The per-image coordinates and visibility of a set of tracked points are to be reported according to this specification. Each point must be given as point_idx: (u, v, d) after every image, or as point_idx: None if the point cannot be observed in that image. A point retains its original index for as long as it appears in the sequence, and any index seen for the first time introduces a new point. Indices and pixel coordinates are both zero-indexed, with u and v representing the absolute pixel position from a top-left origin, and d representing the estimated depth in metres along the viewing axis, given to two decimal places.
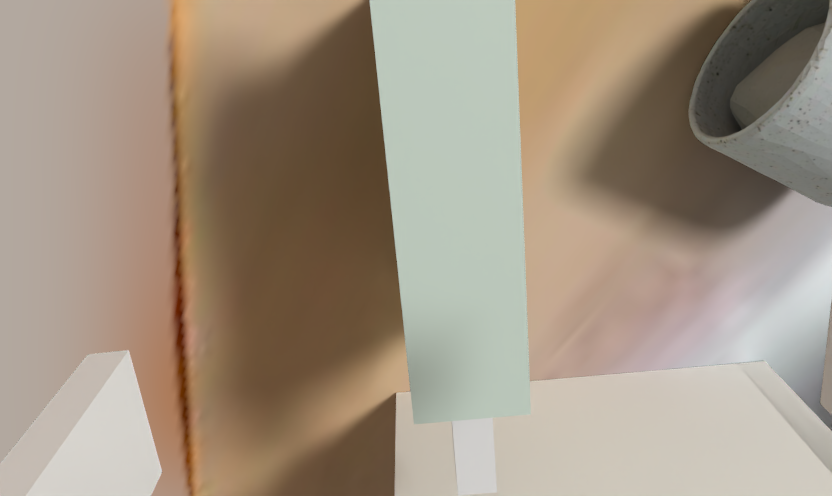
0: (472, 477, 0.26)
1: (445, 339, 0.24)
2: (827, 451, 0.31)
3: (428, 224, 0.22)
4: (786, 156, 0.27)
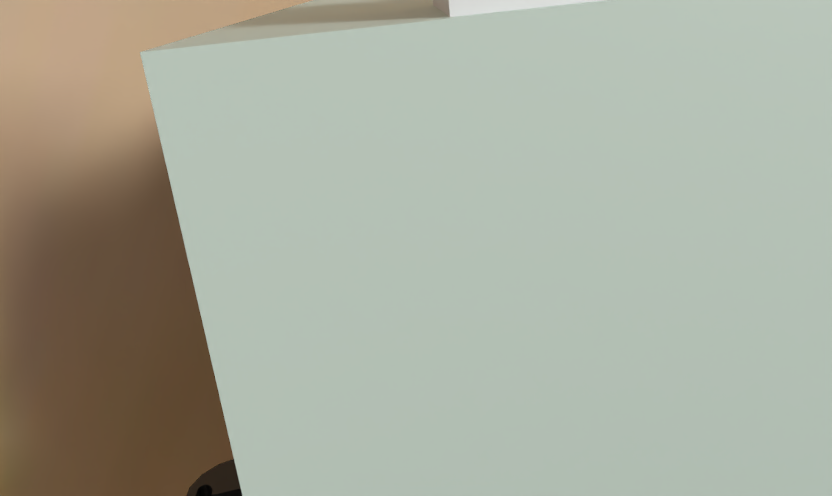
0: None
1: None
2: None
3: None
4: None
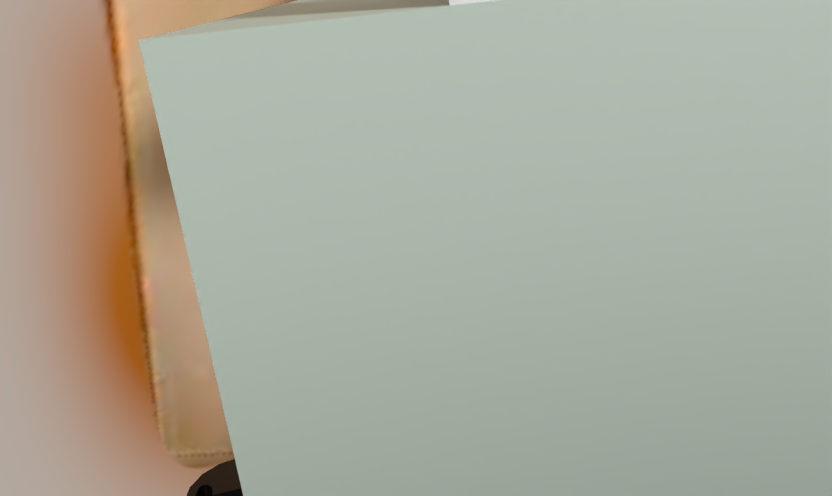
0: None
1: None
2: None
3: None
4: None
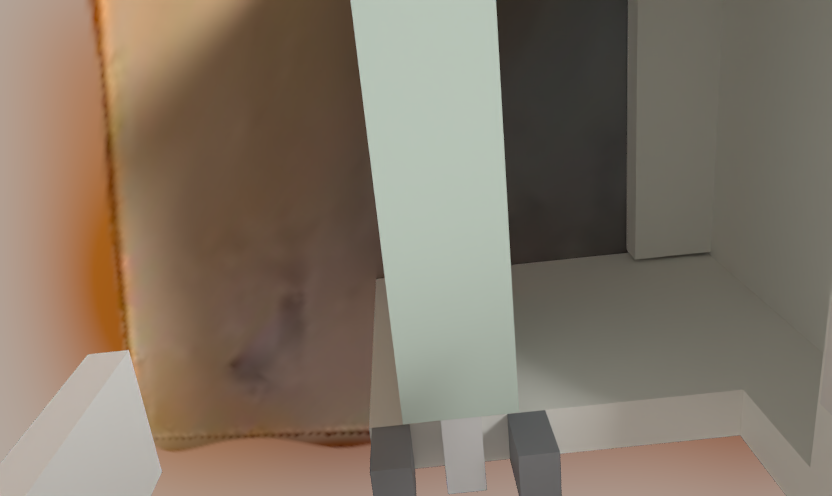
0: (462, 476, 0.26)
1: (432, 338, 0.24)
2: None
3: (413, 225, 0.22)
4: None
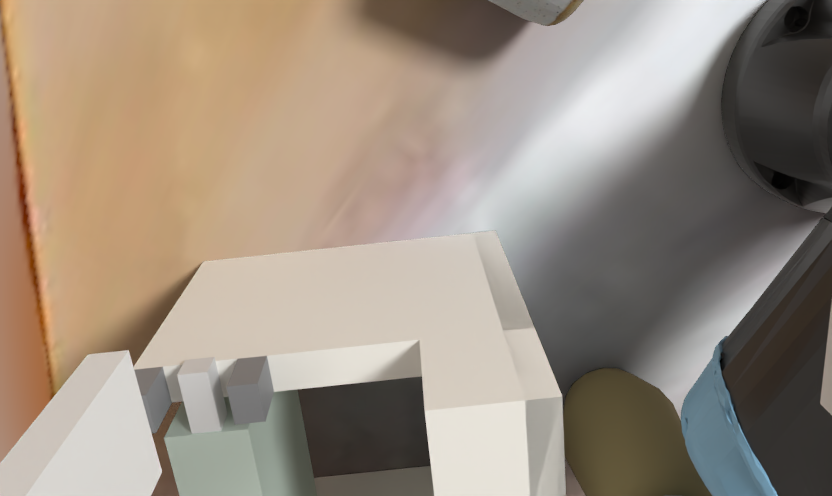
0: None
1: None
2: (497, 277, 0.40)
3: None
4: None
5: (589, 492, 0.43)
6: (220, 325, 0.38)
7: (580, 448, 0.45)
